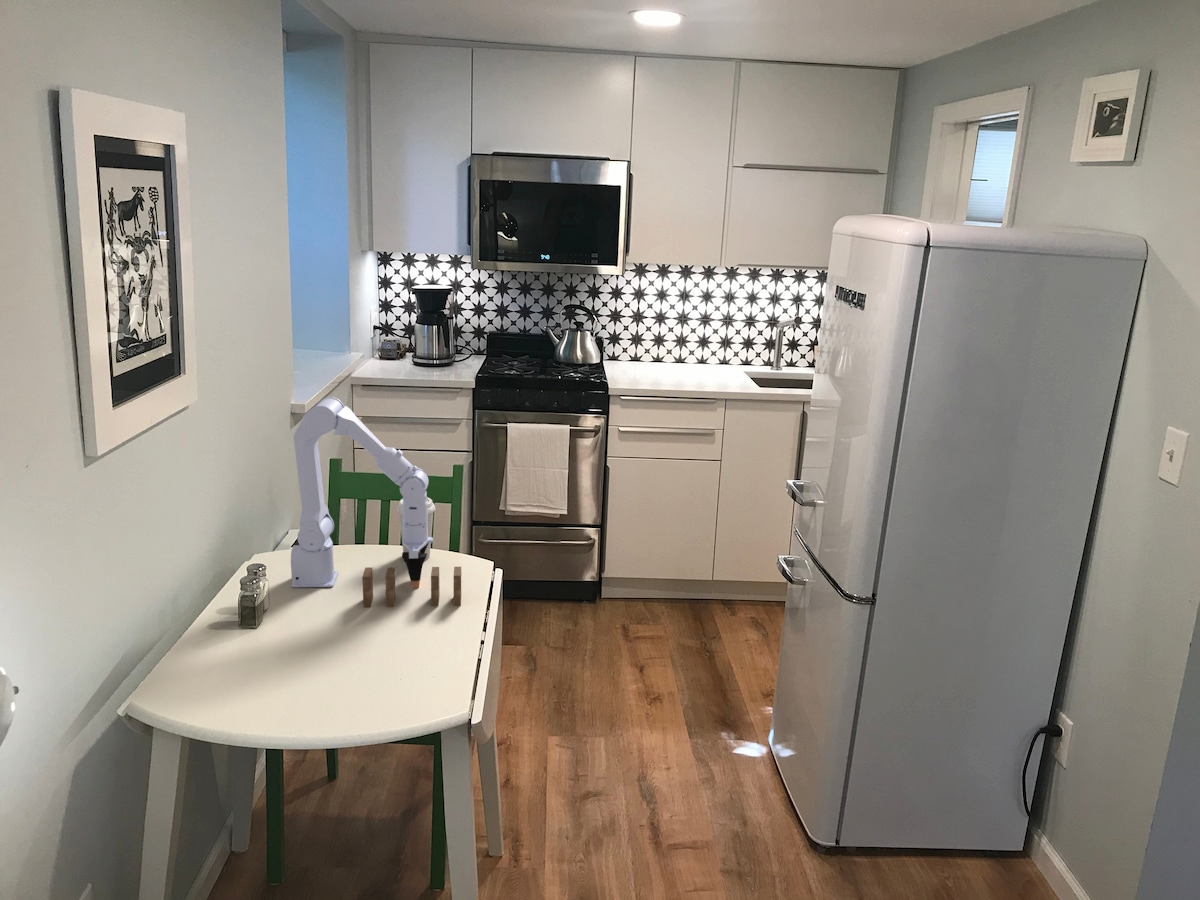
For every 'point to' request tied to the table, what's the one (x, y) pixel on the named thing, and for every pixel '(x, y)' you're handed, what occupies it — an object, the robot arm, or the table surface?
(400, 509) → the coffee cup
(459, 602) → the domino
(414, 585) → the domino
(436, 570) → the domino
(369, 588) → the domino
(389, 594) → the domino
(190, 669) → the table surface
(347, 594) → the table surface
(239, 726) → the table surface
